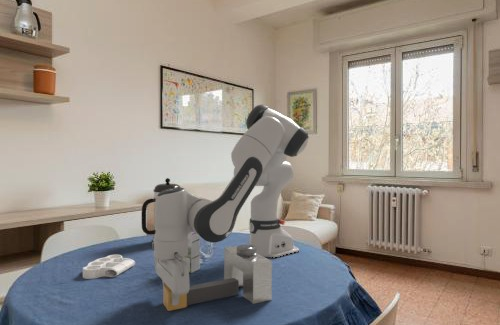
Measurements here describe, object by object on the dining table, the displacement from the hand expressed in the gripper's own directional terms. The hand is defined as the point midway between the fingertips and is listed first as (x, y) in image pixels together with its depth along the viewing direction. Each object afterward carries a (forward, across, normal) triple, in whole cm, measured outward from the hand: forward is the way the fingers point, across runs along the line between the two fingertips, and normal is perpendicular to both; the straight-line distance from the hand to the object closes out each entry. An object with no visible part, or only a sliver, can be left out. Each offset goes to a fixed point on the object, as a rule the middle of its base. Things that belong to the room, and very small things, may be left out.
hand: (171, 299), depth 93 cm
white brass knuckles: (+2, +40, +11) cm, 41 cm away
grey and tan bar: (+2, 0, -9) cm, 9 cm away
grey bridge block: (+2, 0, -23) cm, 23 cm away
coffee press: (+2, +68, -17) cm, 70 cm away
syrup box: (+2, +26, -14) cm, 30 cm away
